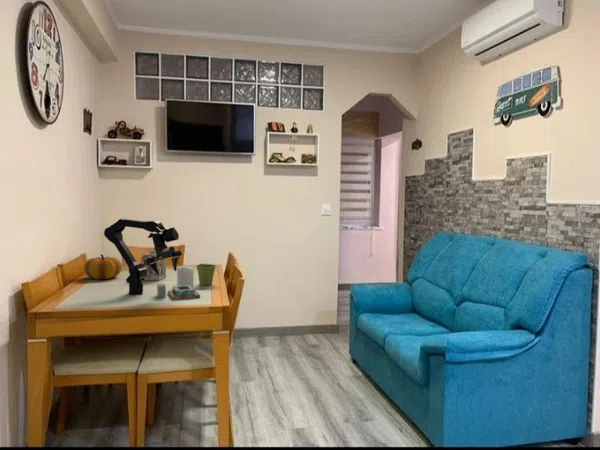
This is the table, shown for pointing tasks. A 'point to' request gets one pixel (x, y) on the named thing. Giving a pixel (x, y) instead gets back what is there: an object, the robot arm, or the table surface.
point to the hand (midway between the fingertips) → (167, 273)
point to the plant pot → (205, 273)
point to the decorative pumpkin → (102, 267)
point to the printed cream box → (185, 276)
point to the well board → (183, 292)
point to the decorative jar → (160, 265)
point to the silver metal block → (161, 290)
